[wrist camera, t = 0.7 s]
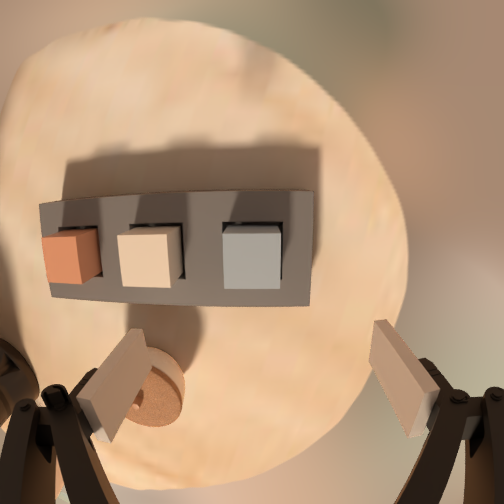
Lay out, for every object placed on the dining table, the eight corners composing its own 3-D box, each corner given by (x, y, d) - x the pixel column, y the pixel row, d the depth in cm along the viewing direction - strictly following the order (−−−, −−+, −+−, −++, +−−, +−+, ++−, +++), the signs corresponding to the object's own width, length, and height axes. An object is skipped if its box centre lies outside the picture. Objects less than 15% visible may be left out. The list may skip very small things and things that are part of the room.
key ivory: (140, 271, 32) (122, 286, 27) (136, 227, 31) (117, 235, 26) (183, 271, 32) (170, 287, 27) (180, 225, 31) (166, 234, 26)
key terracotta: (70, 269, 32) (48, 282, 27) (65, 229, 31) (41, 237, 26) (103, 270, 32) (81, 284, 27) (98, 228, 31) (75, 236, 26)
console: (71, 284, 37) (51, 297, 32) (61, 200, 34) (39, 204, 29) (302, 289, 36) (309, 306, 31) (305, 189, 34) (313, 191, 29)
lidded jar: (126, 322, 38) (97, 358, 29) (200, 348, 39) (185, 391, 29) (120, 378, 40) (96, 416, 31) (185, 401, 41) (171, 445, 32)
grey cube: (229, 272, 32) (224, 288, 27) (228, 225, 31) (222, 233, 26) (276, 272, 32) (279, 288, 27) (277, 225, 31) (281, 233, 26)
